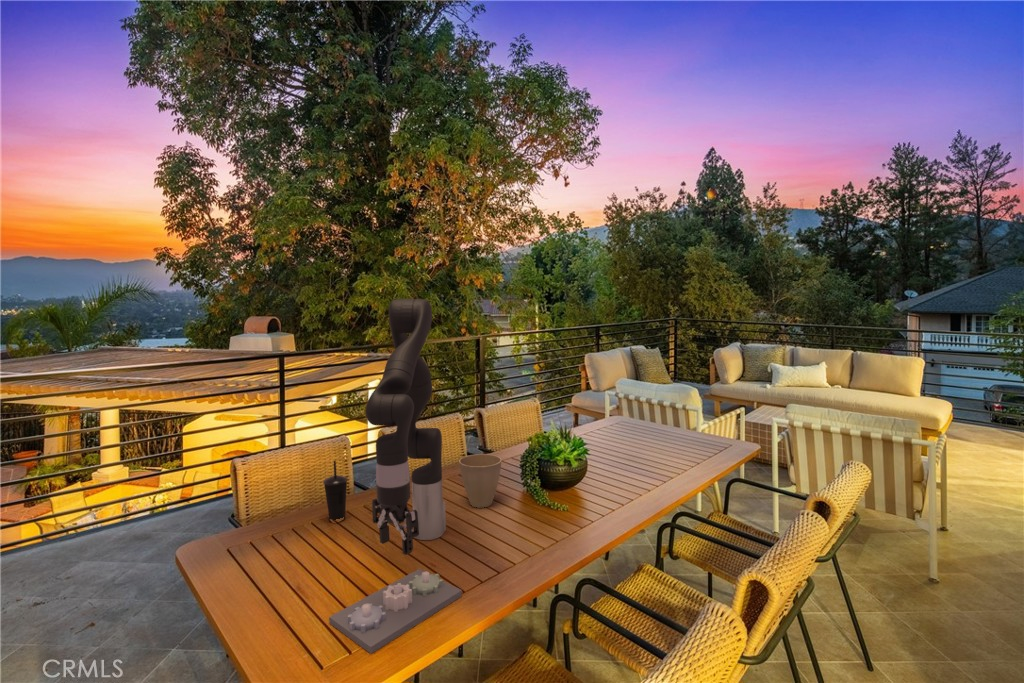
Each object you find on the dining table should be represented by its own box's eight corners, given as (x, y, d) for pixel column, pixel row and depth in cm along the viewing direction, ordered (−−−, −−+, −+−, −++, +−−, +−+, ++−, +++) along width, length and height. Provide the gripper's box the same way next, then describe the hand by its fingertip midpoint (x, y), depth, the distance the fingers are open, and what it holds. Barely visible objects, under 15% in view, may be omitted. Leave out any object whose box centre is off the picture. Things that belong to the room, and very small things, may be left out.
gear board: (419, 574, 134) (418, 556, 134) (461, 596, 124) (461, 576, 123) (329, 623, 114) (328, 602, 114) (371, 654, 104) (370, 630, 103)
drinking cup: (352, 514, 172) (349, 457, 171) (345, 524, 165) (342, 464, 163) (329, 515, 172) (326, 457, 171) (321, 525, 165) (318, 465, 163)
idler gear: (400, 591, 123) (400, 580, 123) (417, 601, 119) (417, 589, 119) (377, 604, 118) (377, 592, 118) (395, 615, 114) (394, 602, 114)
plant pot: (508, 508, 176) (507, 463, 174) (467, 515, 170) (466, 469, 169) (494, 493, 189) (493, 451, 188) (455, 499, 184) (454, 456, 183)
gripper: (426, 482, 115) (428, 550, 116) (387, 469, 124) (390, 532, 125) (399, 492, 109) (402, 564, 110) (361, 478, 118) (364, 544, 120)
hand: (395, 547), depth 118 cm, fingers open, 8 cm apart
